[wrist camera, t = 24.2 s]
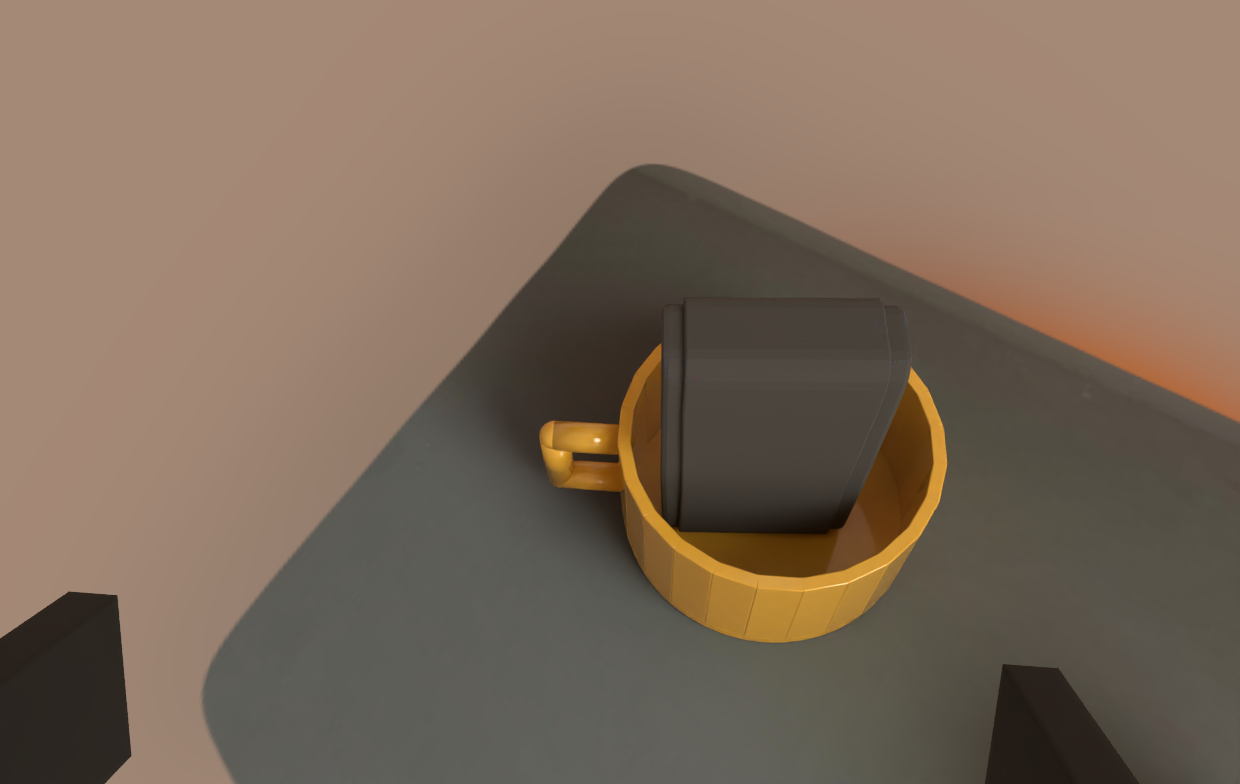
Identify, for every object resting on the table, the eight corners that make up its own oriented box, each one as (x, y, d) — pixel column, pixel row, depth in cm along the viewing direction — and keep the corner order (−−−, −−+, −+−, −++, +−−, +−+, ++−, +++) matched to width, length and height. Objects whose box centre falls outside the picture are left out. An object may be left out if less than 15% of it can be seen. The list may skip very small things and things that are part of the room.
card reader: (842, 467, 49) (910, 281, 36) (849, 541, 46) (925, 373, 34) (659, 464, 49) (662, 280, 36) (658, 539, 47) (661, 371, 34)
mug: (900, 390, 52) (932, 312, 46) (919, 654, 44) (961, 603, 38) (566, 370, 53) (555, 292, 47) (531, 624, 45) (513, 570, 39)
